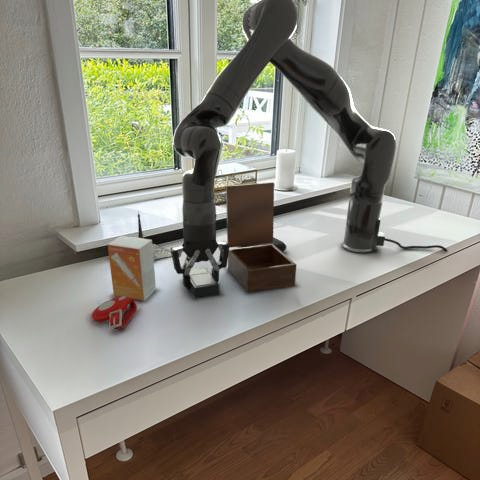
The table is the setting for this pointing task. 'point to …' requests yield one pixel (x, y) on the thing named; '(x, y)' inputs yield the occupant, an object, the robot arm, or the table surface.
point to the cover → (250, 214)
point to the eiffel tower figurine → (157, 250)
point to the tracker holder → (115, 312)
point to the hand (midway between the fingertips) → (201, 285)
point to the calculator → (203, 283)
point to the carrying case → (276, 242)
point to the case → (261, 268)
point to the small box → (132, 267)
